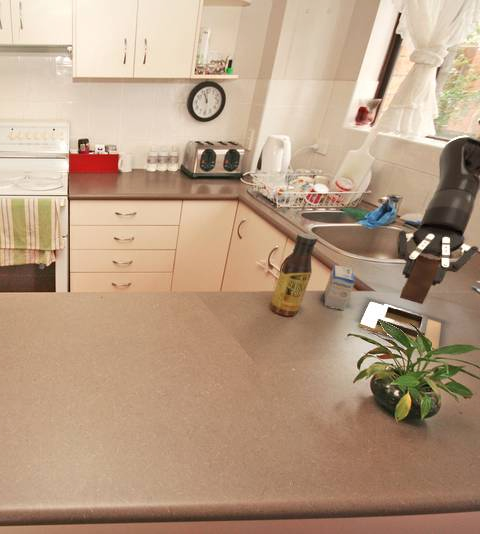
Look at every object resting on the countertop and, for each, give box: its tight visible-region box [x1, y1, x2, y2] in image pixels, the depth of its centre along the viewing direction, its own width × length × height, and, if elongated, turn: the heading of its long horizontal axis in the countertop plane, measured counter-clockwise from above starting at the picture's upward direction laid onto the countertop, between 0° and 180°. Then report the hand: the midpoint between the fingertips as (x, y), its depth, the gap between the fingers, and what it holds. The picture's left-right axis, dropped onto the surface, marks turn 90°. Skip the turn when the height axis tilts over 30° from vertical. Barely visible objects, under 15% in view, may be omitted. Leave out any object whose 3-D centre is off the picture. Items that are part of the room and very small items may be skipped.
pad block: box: [399, 255, 441, 305], centre depth 85 cm, size 4×5×9 cm
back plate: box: [358, 301, 442, 350], centre depth 90 cm, size 14×14×2 cm
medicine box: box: [323, 264, 356, 311], centre depth 98 cm, size 8×4×9 cm, turn 150°
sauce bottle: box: [270, 232, 318, 317], centre depth 91 cm, size 7×6×20 cm
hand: (420, 280), depth 83 cm, fingers closed on pad block, 4 cm apart
